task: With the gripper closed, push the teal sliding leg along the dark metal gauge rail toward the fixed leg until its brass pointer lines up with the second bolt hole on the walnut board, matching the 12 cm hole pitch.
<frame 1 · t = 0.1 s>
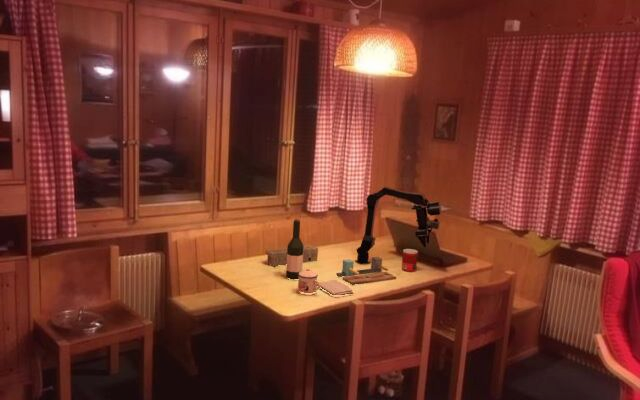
hand: (426, 245, 304), 15 cm above the table, tool pointing down, fingers open, 9 cm apart
hole board: (369, 279, 291), on the table
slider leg: (351, 269, 291), point 4 cm above the table, slide at -6.0 cm
teacup with lid: (309, 293, 267), on the table
gauge rail: (359, 273, 299), on the table
wine bottle: (293, 277, 287), on the table
canned food: (408, 270, 310), on the table
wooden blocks: (291, 262, 312), on the table
washcloth: (334, 291, 272), on the table
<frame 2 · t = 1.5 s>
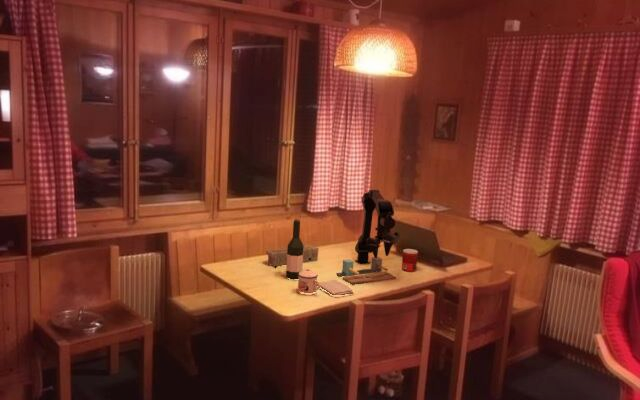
hand: (381, 257, 285), 13 cm above the table, tool pointing down, fingers open, 9 cm apart
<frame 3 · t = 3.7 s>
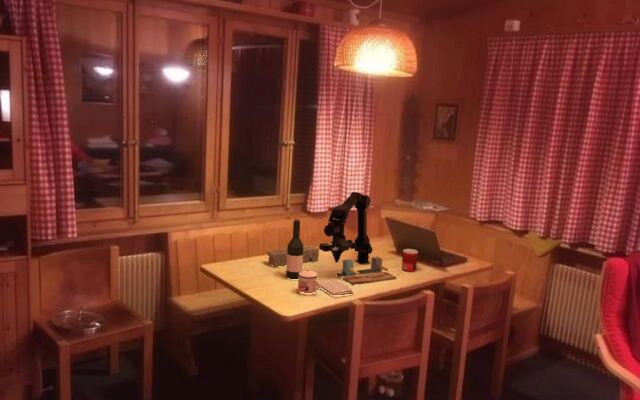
hand: (336, 262, 290), 8 cm above the table, tool pointing down, fingers closed
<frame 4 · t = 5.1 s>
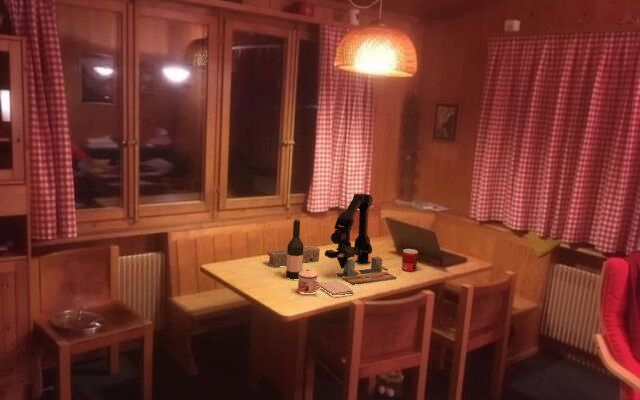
hand: (342, 268, 293), 4 cm above the table, tool pointing down, fingers closed
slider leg: (353, 269, 292), point 4 cm above the table, slide at -5.1 cm, touching gripper
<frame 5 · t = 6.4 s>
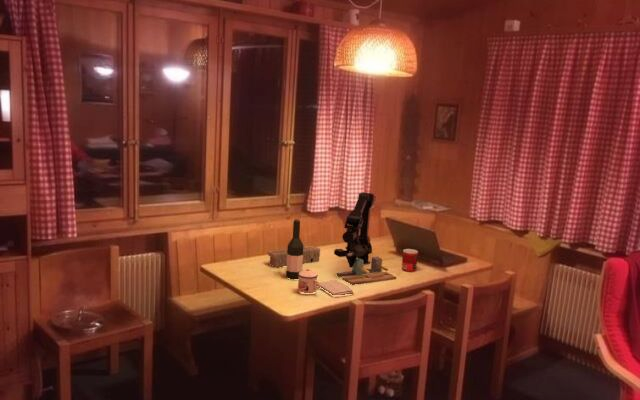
hand: (350, 267, 295), 4 cm above the table, tool pointing down, fingers closed
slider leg: (361, 268, 294), point 4 cm above the table, slide at 0.2 cm, touching gripper
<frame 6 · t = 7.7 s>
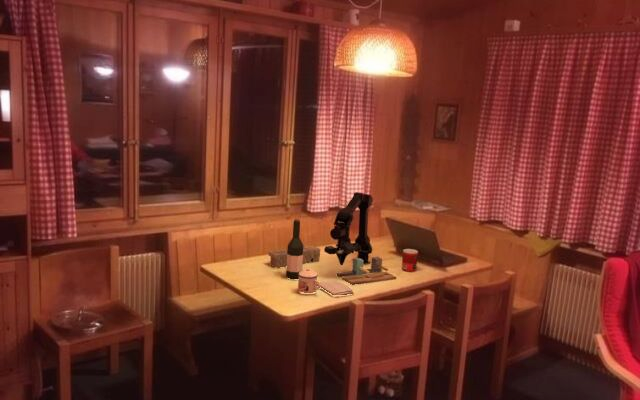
hand: (341, 265, 292), 6 cm above the table, tool pointing down, fingers closed
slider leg: (361, 268, 294), point 4 cm above the table, slide at 0.2 cm
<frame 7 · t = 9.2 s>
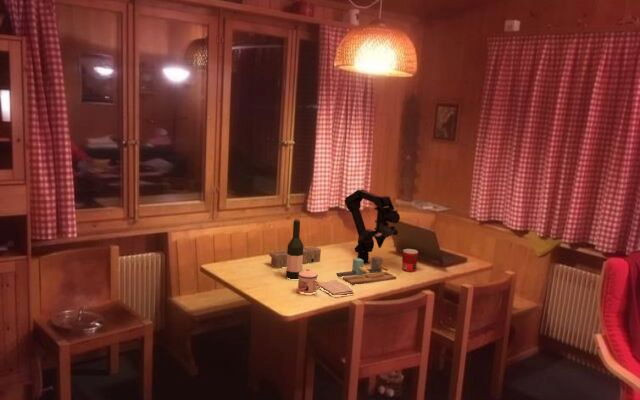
hand: (379, 247, 307), 12 cm above the table, tool pointing down, fingers closed
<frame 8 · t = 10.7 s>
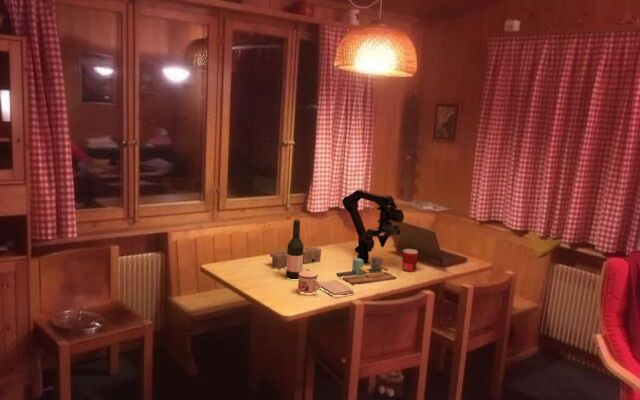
hand: (382, 247, 308), 12 cm above the table, tool pointing down, fingers closed
at the end: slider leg slide at 0.2 cm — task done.
